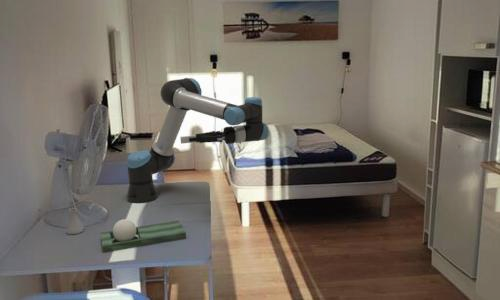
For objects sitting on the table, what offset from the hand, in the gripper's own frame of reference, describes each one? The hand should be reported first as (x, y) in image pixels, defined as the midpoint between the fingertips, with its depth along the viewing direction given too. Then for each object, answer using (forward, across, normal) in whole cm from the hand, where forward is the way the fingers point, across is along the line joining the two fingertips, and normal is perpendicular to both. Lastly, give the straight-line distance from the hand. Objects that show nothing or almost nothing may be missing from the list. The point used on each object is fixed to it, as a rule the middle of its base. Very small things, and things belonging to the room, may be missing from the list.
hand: (180, 140), depth 203 cm
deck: (+20, -13, -36) cm, 43 cm away
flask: (+46, +6, -36) cm, 59 cm away
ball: (+27, -14, -31) cm, 44 cm away
